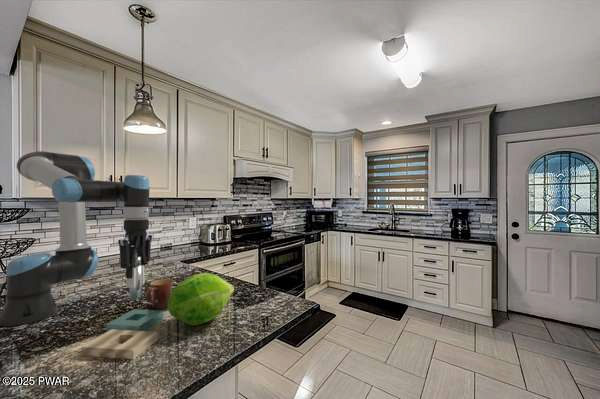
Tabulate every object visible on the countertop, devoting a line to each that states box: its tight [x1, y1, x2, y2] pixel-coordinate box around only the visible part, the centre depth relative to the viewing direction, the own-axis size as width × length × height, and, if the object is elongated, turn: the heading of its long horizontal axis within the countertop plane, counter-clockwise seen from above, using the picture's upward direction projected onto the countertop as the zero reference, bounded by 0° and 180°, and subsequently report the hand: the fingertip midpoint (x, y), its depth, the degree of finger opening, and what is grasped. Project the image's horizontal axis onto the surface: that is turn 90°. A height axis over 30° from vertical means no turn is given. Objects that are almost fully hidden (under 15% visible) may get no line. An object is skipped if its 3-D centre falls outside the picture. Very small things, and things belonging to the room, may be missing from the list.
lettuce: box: [167, 272, 235, 326], centre depth 93 cm, size 19×25×17 cm
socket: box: [105, 308, 164, 333], centre depth 90 cm, size 12×12×3 cm
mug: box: [146, 278, 175, 310], centre depth 105 cm, size 12×9×10 cm
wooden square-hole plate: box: [81, 329, 159, 360], centre depth 76 cm, size 16×10×2 cm, turn 83°
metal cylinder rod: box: [129, 255, 143, 300], centre depth 90 cm, size 4×4×14 cm
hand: (135, 285), depth 90 cm, fingers closed on metal cylinder rod, 4 cm apart
